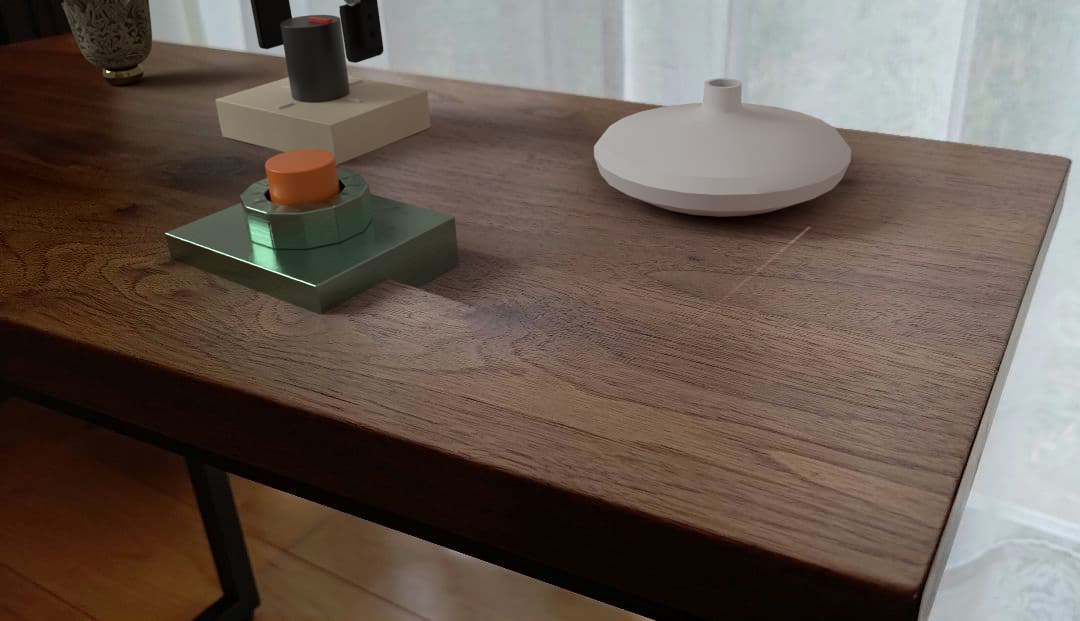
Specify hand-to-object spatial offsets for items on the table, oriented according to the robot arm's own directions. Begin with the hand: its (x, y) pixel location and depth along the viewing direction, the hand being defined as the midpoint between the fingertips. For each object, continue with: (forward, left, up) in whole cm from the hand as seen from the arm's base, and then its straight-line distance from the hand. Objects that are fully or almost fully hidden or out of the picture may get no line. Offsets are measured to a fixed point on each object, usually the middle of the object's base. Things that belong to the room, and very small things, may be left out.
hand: (320, 51), depth 75 cm
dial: (0, 0, -3) cm, 3 cm away
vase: (+32, +4, -6) cm, 33 cm away
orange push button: (+19, -18, -2) cm, 26 cm away
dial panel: (0, 0, -6) cm, 6 cm away
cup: (-29, +1, -6) cm, 30 cm away
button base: (+19, -18, -6) cm, 27 cm away
